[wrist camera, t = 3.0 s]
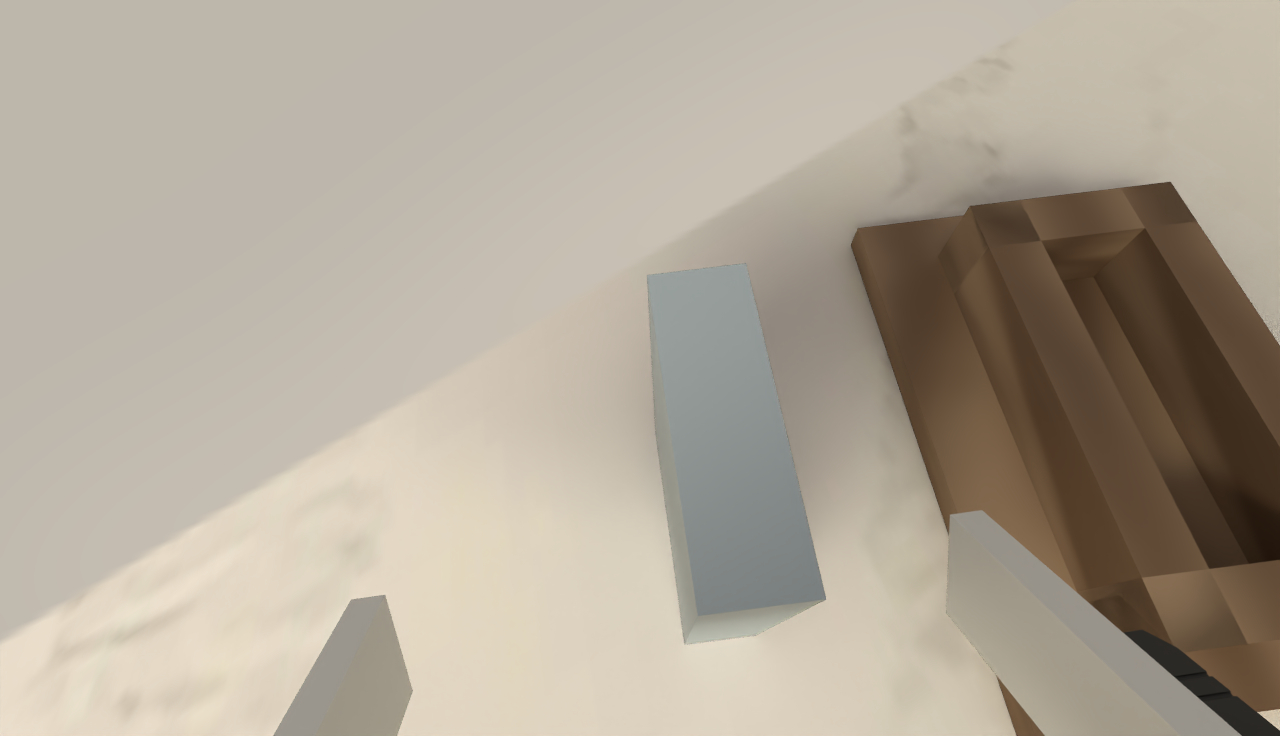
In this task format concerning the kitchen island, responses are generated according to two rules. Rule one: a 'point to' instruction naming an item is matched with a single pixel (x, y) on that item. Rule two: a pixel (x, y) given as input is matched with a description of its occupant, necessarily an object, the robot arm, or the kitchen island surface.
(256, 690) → the kitchen island surface
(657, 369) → the door panel
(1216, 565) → the track board
